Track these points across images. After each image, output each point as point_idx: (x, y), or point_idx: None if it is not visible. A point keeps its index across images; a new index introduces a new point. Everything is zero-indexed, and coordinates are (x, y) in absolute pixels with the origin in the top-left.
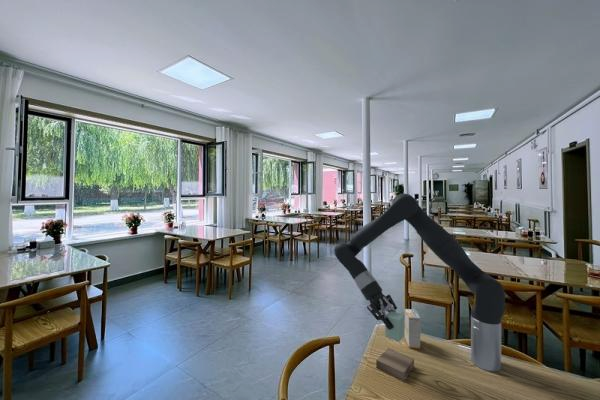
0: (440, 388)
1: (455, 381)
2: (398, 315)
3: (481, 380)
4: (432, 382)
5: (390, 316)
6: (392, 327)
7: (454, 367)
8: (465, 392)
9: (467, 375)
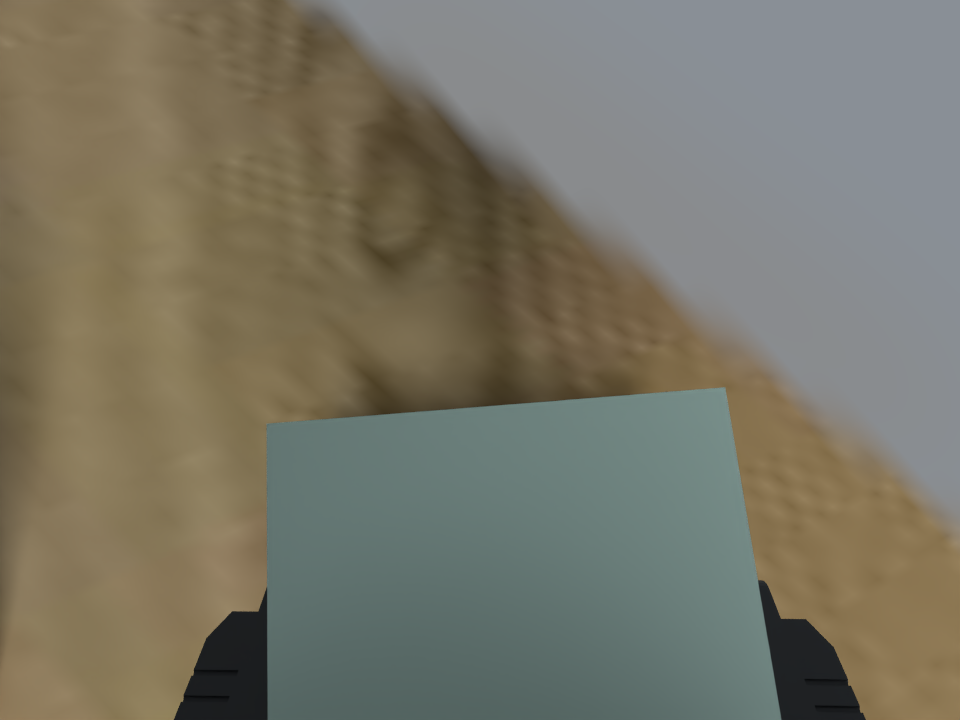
0: (462, 206)
1: (268, 151)
2: (439, 547)
3: (99, 18)
4: (436, 280)
5: (729, 716)
6: (764, 585)
7: (52, 216)
8: (356, 62)
9: (104, 107)
